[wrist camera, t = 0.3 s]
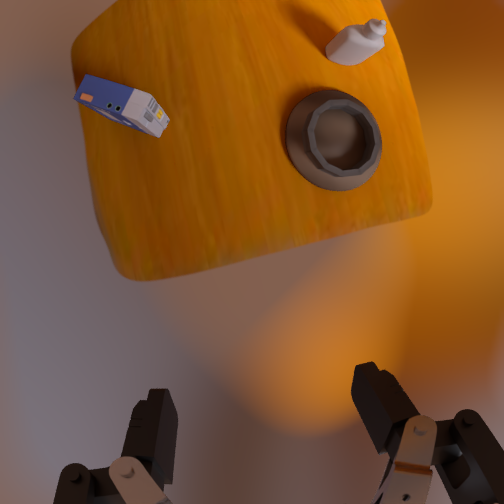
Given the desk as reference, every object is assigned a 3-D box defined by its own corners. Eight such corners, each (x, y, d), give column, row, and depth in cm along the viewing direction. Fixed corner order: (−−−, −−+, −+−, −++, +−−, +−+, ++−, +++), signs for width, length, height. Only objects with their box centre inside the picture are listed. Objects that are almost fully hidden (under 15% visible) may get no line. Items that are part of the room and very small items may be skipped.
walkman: (109, 119, 32) (71, 98, 21) (119, 101, 32) (84, 72, 20) (161, 139, 34) (138, 121, 22) (170, 119, 34) (153, 94, 22)
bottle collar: (276, 94, 34) (283, 87, 31) (368, 92, 36) (380, 86, 32) (294, 197, 38) (302, 199, 35) (384, 184, 39) (397, 185, 36)
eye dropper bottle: (330, 35, 33) (367, -2, 21) (362, 55, 34) (406, 26, 23) (320, 55, 34) (357, 19, 22) (353, 75, 35) (398, 48, 23)
